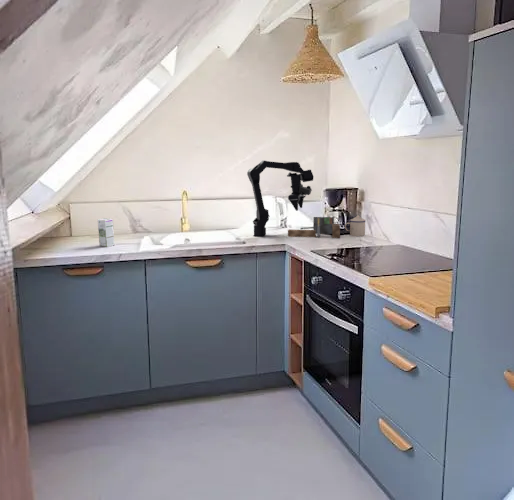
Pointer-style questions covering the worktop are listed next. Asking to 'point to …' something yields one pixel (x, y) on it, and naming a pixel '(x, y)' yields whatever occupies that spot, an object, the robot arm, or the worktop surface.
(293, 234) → the walnut bar
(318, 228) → the gauge paddle
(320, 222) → the gauge housing
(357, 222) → the teacup with lid
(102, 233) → the syrup box
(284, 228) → the worktop surface
